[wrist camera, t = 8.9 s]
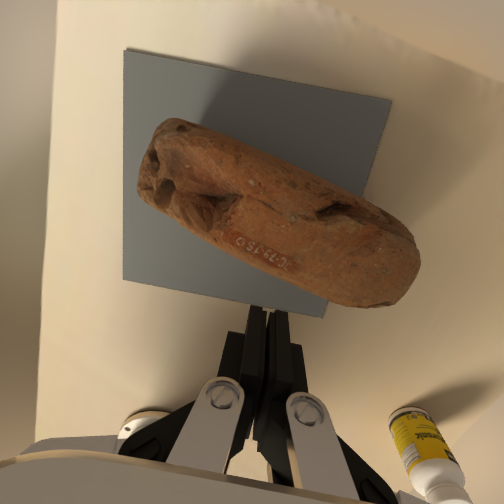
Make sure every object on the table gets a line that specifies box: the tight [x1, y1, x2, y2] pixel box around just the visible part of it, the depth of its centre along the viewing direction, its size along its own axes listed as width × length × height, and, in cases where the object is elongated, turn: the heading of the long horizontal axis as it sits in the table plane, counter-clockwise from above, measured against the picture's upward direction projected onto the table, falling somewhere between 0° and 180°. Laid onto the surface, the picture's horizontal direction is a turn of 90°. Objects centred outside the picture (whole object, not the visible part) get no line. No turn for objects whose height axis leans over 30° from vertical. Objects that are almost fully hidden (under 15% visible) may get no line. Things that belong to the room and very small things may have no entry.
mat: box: [123, 50, 392, 318], centre depth 27 cm, size 22×23×1 cm
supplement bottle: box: [388, 407, 473, 504], centre depth 32 cm, size 5×5×10 cm
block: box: [137, 118, 421, 309], centre depth 22 cm, size 11×8×20 cm
